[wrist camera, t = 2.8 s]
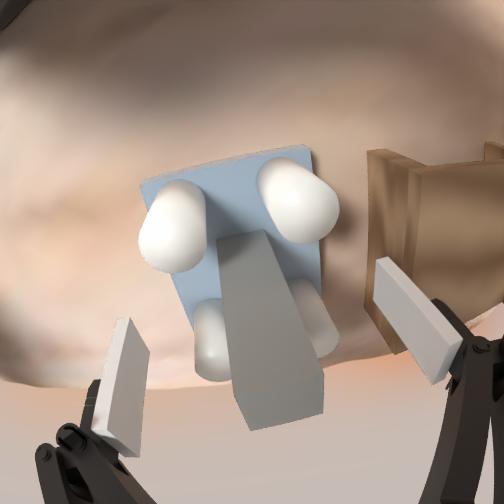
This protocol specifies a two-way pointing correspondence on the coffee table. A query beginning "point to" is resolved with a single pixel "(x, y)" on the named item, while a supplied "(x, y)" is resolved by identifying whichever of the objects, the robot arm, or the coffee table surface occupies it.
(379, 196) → the wooden u channel
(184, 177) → the pegged blue plate
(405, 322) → the robot arm
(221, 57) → the coffee table surface
